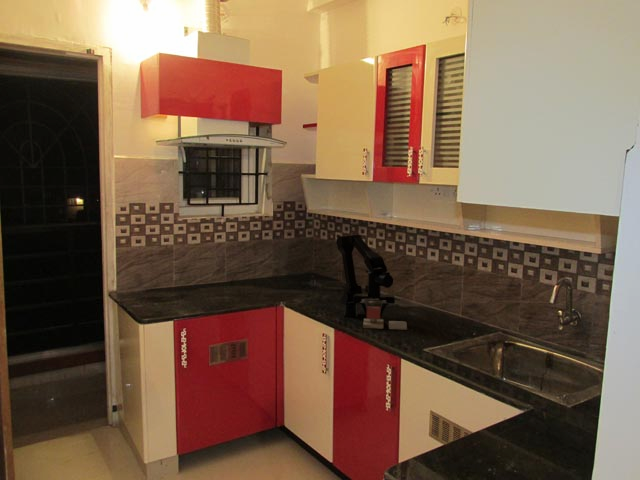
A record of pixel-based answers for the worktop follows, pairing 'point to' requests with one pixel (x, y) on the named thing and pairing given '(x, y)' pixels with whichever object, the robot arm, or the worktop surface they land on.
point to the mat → (397, 325)
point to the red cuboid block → (373, 312)
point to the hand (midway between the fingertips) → (373, 316)
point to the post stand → (373, 323)
